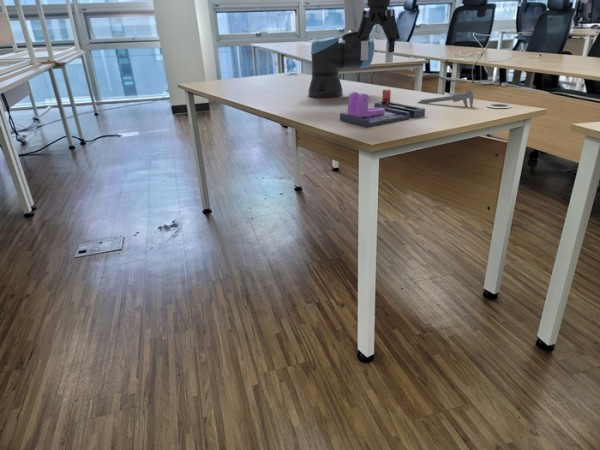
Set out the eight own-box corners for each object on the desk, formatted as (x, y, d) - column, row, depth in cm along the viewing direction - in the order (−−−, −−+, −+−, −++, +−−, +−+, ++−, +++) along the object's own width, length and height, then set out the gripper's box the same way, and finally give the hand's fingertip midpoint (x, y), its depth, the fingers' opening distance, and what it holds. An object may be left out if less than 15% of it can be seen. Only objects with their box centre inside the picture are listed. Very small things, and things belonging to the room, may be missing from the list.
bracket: (358, 116, 135) (360, 94, 132) (347, 114, 139) (348, 92, 136) (387, 113, 141) (390, 92, 139) (376, 111, 146) (378, 90, 143)
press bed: (339, 120, 142) (339, 113, 141) (380, 112, 150) (381, 106, 149) (366, 127, 131) (366, 120, 130) (409, 118, 139) (409, 112, 138)
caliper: (472, 107, 153) (474, 89, 150) (471, 107, 152) (474, 89, 150) (418, 103, 164) (419, 86, 161) (417, 103, 163) (418, 86, 160)
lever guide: (374, 109, 155) (374, 102, 154) (384, 107, 157) (384, 100, 156) (413, 118, 140) (414, 110, 139) (424, 115, 142) (425, 108, 141)
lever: (380, 107, 154) (380, 90, 151) (386, 106, 155) (386, 89, 152) (399, 111, 146) (400, 93, 143) (405, 110, 147) (406, 92, 145)
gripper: (347, -5, 149) (347, 59, 159) (396, -9, 130) (391, 64, 140) (364, -5, 152) (362, 58, 162) (413, -9, 133) (408, 62, 143)
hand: (376, 61), depth 151 cm, fingers open, 13 cm apart
